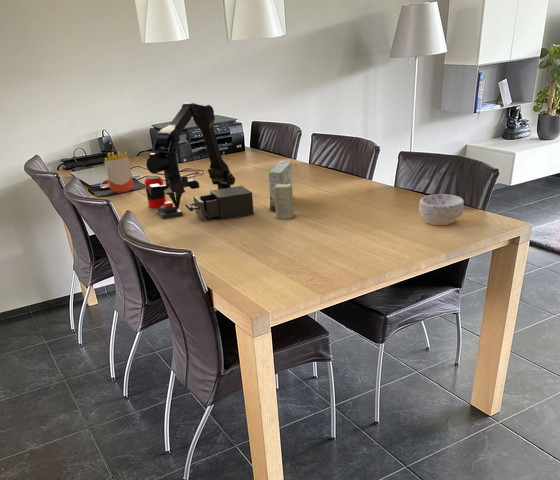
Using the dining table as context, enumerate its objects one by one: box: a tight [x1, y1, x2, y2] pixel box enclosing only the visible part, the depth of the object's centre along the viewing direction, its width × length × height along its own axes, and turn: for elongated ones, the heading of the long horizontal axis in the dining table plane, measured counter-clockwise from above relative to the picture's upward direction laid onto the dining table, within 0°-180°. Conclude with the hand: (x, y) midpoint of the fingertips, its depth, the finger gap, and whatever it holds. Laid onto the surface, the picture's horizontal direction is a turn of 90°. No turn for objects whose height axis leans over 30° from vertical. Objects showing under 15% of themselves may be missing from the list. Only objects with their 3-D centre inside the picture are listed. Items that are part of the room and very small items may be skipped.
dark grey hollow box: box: [209, 185, 255, 221], centre depth 229 cm, size 14×13×9 cm
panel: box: [157, 203, 183, 220], centre depth 234 cm, size 10×8×4 cm
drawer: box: [184, 194, 220, 221], centre depth 226 cm, size 17×11×7 cm
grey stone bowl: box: [418, 193, 465, 226], centre depth 204 cm, size 15×15×8 cm
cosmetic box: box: [274, 183, 295, 220], centre depth 219 cm, size 6×4×12 cm
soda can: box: [144, 175, 167, 209], centre depth 244 cm, size 8×8×12 cm
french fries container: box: [104, 151, 134, 194], centre depth 268 cm, size 5×11×18 cm, turn 114°
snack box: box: [268, 160, 293, 212], centre depth 234 cm, size 21×6×15 cm, turn 168°
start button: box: [164, 200, 174, 207], centre depth 233 cm, size 4×4×2 cm
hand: (177, 208), depth 224 cm, fingers closed
